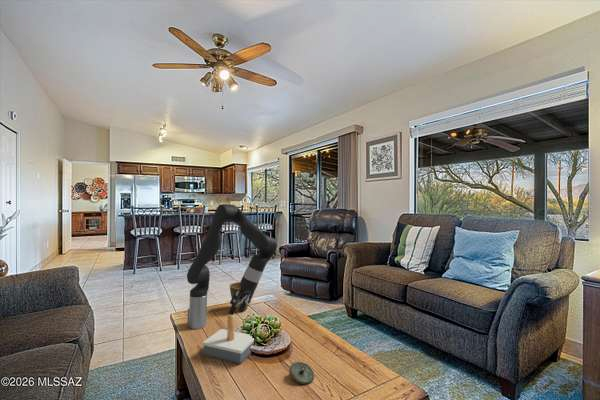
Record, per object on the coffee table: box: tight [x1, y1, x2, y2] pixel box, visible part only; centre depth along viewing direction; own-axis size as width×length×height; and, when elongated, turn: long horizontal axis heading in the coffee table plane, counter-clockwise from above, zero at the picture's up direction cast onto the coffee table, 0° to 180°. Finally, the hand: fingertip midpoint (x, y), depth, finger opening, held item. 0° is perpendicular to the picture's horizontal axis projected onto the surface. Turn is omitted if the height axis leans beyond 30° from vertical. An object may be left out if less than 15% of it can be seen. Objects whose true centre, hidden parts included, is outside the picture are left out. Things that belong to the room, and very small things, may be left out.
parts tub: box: [203, 342, 254, 365], centre depth 135 cm, size 19×14×5 cm
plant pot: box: [229, 281, 250, 313], centre depth 187 cm, size 15×15×16 cm
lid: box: [288, 361, 315, 385], centre depth 117 cm, size 11×10×5 cm
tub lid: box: [202, 314, 254, 354], centre depth 135 cm, size 20×15×14 cm
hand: (235, 313), depth 126 cm, fingers open, 8 cm apart
